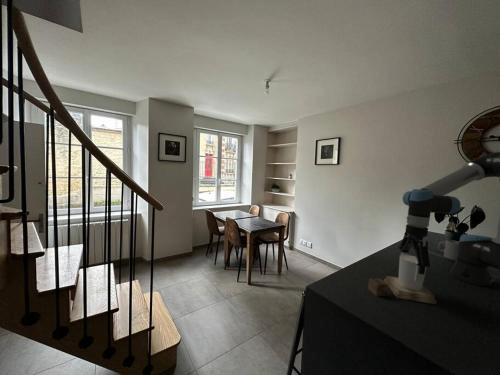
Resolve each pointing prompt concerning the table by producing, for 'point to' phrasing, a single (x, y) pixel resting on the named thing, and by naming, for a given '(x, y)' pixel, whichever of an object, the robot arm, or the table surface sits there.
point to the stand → (409, 291)
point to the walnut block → (377, 287)
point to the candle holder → (409, 272)
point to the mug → (450, 249)
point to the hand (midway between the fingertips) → (410, 273)
